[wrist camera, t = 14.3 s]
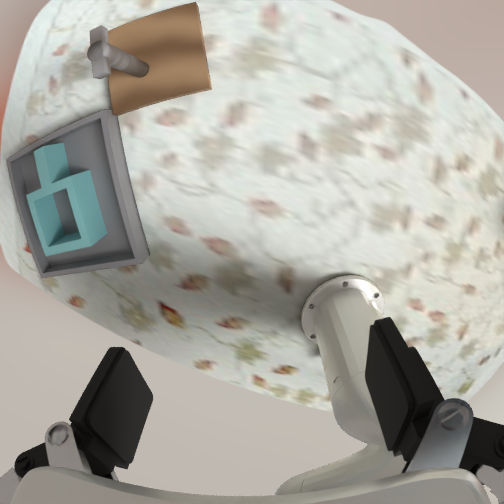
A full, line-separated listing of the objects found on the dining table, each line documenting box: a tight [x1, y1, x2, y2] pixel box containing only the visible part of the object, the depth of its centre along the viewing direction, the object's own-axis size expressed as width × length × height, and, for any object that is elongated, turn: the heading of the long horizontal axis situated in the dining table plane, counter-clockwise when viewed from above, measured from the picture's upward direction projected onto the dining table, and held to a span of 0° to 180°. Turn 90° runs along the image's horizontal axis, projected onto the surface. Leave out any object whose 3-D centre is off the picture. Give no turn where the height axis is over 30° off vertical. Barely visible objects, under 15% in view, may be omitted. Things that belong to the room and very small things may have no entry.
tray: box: [6, 109, 150, 278], centre depth 32 cm, size 20×20×3 cm
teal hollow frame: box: [26, 143, 107, 256], centre depth 31 cm, size 9×14×4 cm, turn 10°
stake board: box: [87, 2, 212, 115], centre depth 21 cm, size 12×12×12 cm
